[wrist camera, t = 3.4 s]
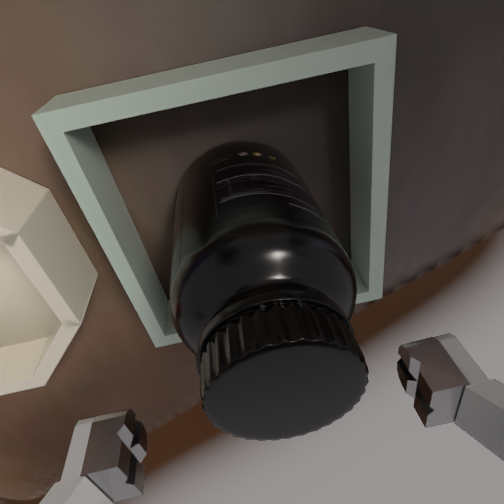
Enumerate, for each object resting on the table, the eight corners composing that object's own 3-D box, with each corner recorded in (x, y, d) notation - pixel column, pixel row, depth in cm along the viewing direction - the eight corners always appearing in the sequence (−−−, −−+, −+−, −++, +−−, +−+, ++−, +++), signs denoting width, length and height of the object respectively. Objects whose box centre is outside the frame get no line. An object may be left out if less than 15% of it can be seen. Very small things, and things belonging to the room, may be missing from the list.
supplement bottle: (288, 252, 22) (357, 454, 13) (174, 246, 21) (156, 466, 11) (317, 143, 18) (449, 317, 9) (180, 126, 17) (160, 309, 8)
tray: (365, 25, 16) (396, 33, 13) (363, 266, 24) (382, 298, 21) (56, 95, 16) (31, 115, 13) (159, 311, 24) (155, 347, 21)
